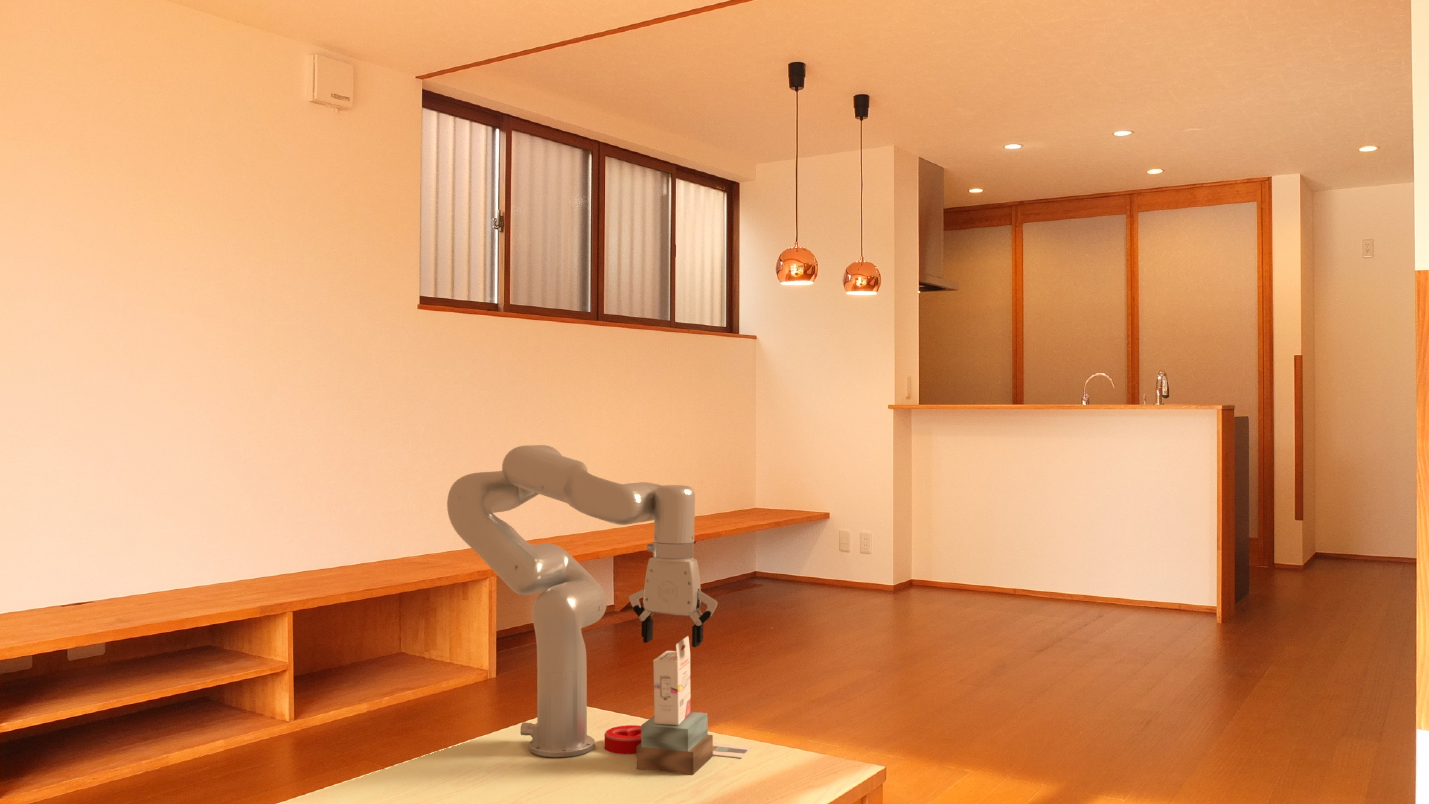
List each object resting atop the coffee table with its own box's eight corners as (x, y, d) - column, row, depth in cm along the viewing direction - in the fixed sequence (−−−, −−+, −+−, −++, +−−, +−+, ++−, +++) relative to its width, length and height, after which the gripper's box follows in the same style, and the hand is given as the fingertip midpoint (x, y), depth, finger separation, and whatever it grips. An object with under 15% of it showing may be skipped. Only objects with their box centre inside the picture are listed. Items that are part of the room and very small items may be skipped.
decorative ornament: (623, 759, 195) (623, 742, 195) (594, 747, 203) (594, 731, 203) (664, 748, 202) (663, 732, 202) (634, 737, 209) (634, 721, 209)
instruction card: (691, 753, 198) (691, 752, 198) (703, 742, 204) (703, 741, 204) (741, 758, 194) (741, 756, 194) (751, 747, 201) (751, 746, 201)
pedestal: (636, 768, 189) (636, 724, 189) (658, 751, 199) (658, 709, 199) (693, 774, 185) (693, 729, 186) (712, 756, 196) (712, 713, 196)
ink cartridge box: (666, 711, 197) (666, 634, 198) (691, 713, 196) (691, 635, 197) (652, 724, 189) (652, 643, 189) (678, 726, 188) (678, 644, 188)
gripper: (623, 551, 193) (621, 643, 192) (711, 556, 187) (709, 651, 187) (638, 546, 200) (636, 636, 199) (724, 552, 194) (722, 643, 194)
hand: (672, 643), depth 193 cm, fingers open, 9 cm apart
